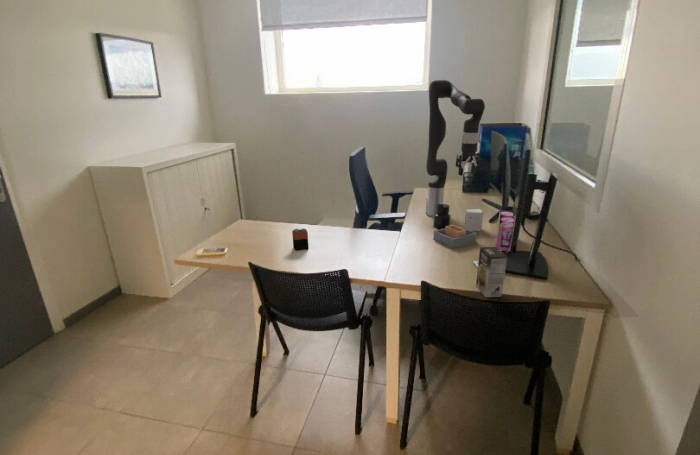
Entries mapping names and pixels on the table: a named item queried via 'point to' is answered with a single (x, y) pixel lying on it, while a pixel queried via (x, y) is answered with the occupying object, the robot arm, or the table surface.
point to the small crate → (454, 231)
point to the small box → (473, 219)
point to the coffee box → (491, 271)
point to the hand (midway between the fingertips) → (466, 174)
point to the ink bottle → (442, 216)
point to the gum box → (504, 230)
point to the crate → (457, 242)
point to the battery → (300, 239)
